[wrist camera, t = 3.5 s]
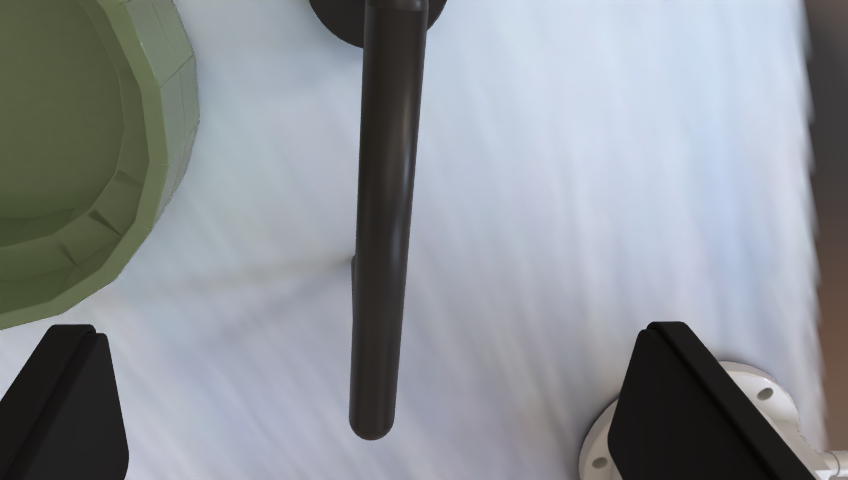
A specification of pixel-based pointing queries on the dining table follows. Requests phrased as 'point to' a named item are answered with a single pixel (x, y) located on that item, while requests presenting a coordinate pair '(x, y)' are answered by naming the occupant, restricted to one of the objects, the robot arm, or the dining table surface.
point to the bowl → (86, 142)
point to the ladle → (382, 189)
